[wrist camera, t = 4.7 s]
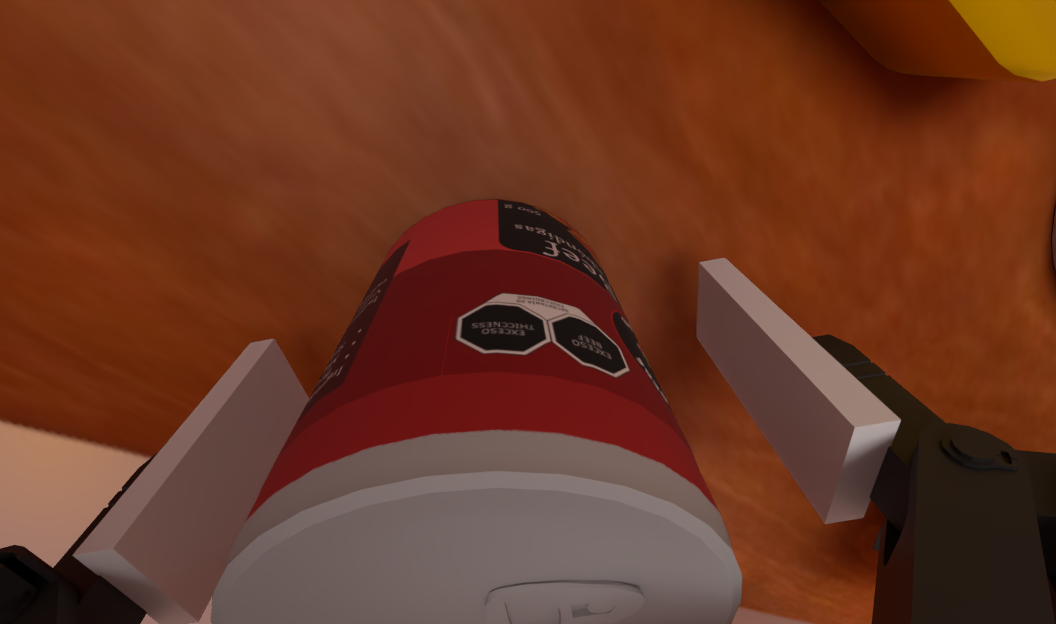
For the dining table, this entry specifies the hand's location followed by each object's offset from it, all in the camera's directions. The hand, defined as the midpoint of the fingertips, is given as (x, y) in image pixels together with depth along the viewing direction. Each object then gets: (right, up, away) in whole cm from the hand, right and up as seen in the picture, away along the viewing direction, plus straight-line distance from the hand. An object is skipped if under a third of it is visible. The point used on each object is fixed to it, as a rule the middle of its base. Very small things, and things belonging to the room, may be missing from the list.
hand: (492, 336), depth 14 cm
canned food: (0, +2, +2) cm, 3 cm away
